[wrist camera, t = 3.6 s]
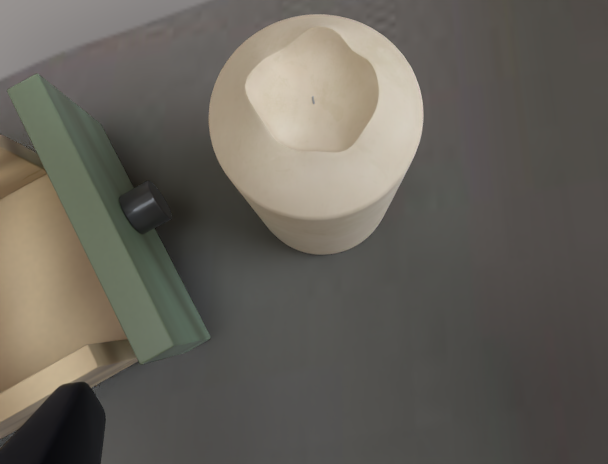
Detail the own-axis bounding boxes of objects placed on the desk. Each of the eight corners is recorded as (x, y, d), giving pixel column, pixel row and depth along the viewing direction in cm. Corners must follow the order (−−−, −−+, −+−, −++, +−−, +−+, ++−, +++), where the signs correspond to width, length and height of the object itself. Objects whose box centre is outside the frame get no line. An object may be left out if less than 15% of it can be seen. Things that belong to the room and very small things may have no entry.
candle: (244, 242, 21) (168, 183, 12) (272, 118, 22) (221, -38, 12) (375, 267, 21) (412, 227, 11) (399, 139, 22) (452, -4, 12)
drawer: (125, 109, 22) (68, 54, 17) (238, 322, 20) (209, 326, 15) (-140, 256, 21) (-271, 240, 17) (-48, 485, 20) (-165, 538, 15)
